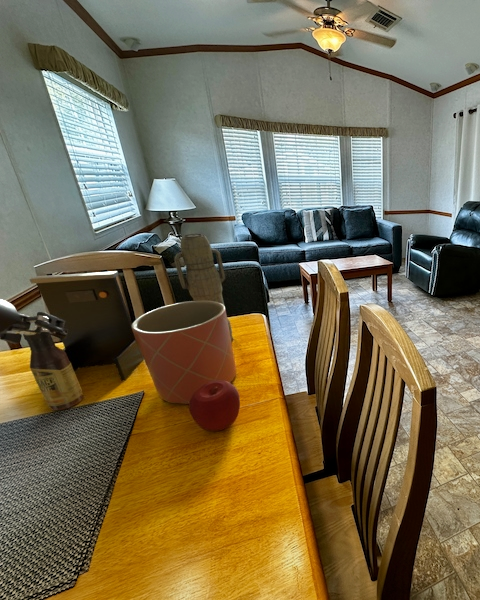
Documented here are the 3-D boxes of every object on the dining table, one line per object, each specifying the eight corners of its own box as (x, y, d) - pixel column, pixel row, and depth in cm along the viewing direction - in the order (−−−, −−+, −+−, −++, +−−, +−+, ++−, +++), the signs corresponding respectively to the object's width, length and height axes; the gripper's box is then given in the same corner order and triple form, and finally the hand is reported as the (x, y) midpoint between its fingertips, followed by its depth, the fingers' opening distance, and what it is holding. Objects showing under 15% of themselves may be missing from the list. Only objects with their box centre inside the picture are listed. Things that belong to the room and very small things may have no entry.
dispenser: (76, 366, 94) (36, 276, 84) (147, 357, 98) (117, 271, 88) (46, 390, 84) (-4, 291, 73) (127, 380, 88) (91, 284, 78)
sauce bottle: (42, 409, 77) (4, 335, 70) (73, 393, 83) (40, 322, 75) (63, 414, 76) (26, 338, 68) (92, 397, 81) (61, 325, 74)
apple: (193, 446, 67) (180, 407, 63) (200, 415, 75) (189, 379, 71) (243, 433, 70) (234, 395, 66) (245, 405, 78) (237, 370, 74)
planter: (196, 415, 75) (172, 339, 67) (137, 398, 81) (110, 326, 73) (255, 370, 92) (241, 305, 84) (203, 359, 97) (186, 296, 90)
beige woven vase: (243, 339, 109) (221, 233, 95) (205, 353, 100) (175, 240, 87) (231, 331, 114) (208, 230, 101) (194, 344, 105) (164, 236, 92)
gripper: (22, 287, 62) (83, 317, 76) (-75, 295, 58) (7, 325, 73) (12, 325, 59) (77, 348, 74) (-91, 334, 56) (-2, 357, 70)
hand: (42, 336), depth 73 cm, fingers open, 8 cm apart
